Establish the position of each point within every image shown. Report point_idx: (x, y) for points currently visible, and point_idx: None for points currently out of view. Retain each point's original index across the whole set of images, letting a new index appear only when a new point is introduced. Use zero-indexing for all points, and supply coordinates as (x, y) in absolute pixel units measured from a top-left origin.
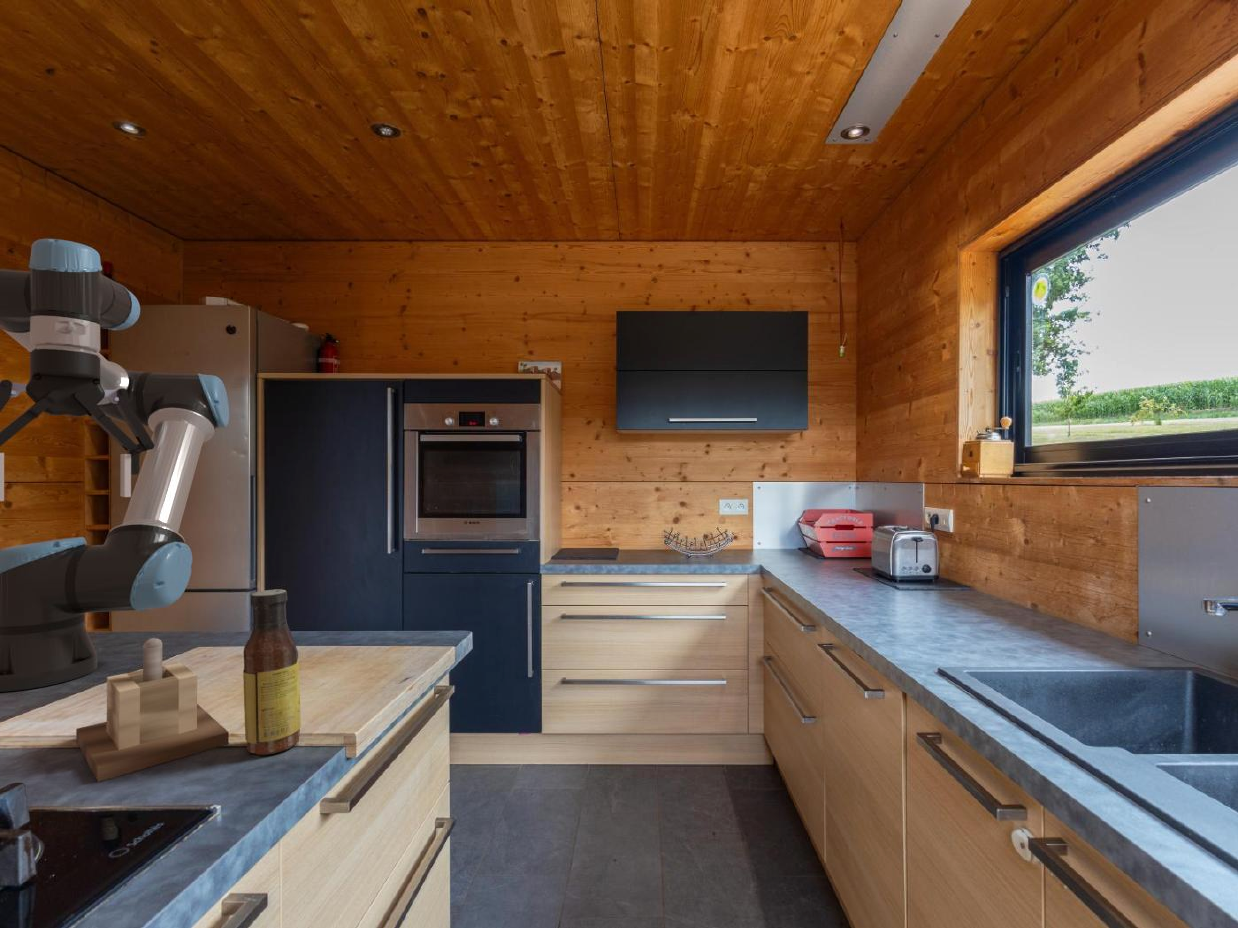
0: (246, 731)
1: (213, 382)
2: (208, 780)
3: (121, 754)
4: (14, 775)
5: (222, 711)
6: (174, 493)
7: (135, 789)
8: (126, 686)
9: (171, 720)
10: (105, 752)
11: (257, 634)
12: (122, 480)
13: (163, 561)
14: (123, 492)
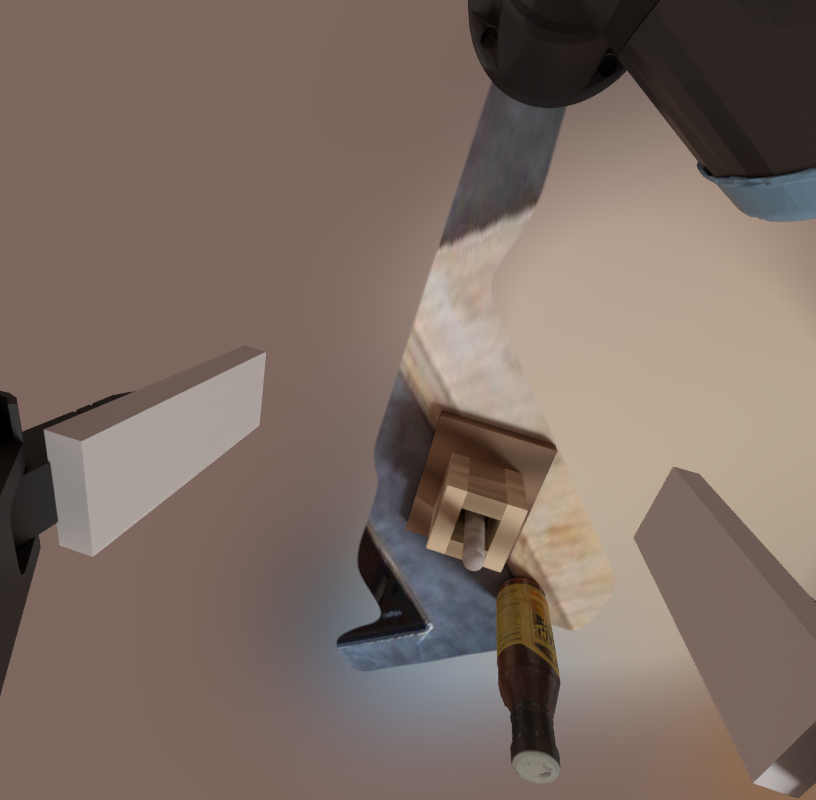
0: (497, 603)
1: None
2: (451, 593)
3: (429, 520)
4: (377, 445)
5: (568, 476)
6: None
7: (416, 558)
8: (439, 537)
9: None
10: (424, 503)
11: (509, 708)
12: (687, 560)
13: None
14: (650, 533)
